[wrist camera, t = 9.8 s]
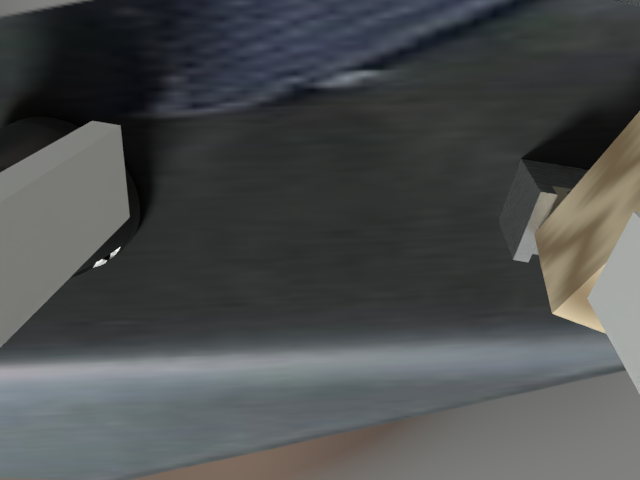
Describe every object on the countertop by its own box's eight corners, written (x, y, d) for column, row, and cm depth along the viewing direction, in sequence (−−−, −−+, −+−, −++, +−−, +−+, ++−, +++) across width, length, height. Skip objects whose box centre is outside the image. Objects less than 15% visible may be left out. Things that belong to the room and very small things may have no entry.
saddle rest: (498, 220, 43) (513, 259, 38) (521, 158, 40) (540, 191, 35) (609, 239, 43) (640, 282, 37) (641, 178, 40) (680, 215, 34)
